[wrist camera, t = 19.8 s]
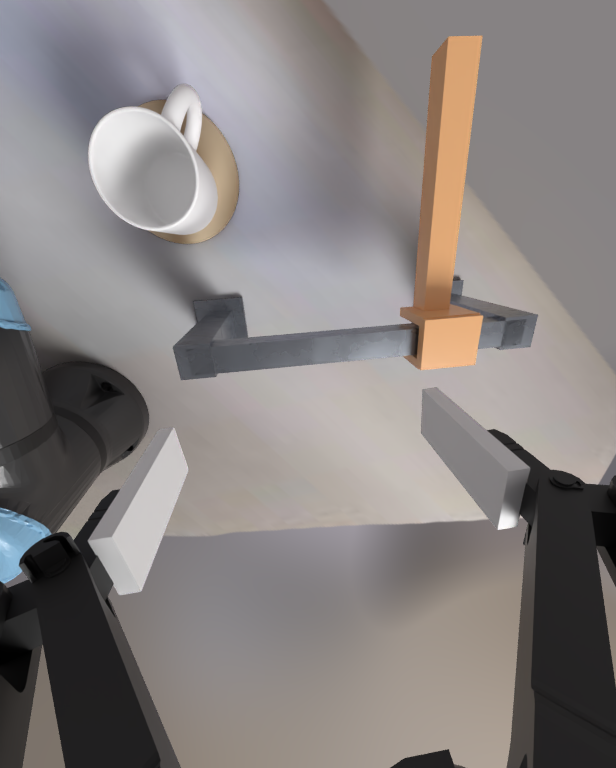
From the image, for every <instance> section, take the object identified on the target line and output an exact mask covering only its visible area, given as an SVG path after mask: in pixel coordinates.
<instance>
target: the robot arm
mask: <svg viewBox="0 0 616 768" xmlns="http://www.w3.org/2000/svg"><path fill="white" fill-rule="evenodd" d="M30 330H31V327H30V325H29V324H27V323H26V322H25V319H24V317H23V315H22V312H21V310H20V307H19V305H18V302H17V299H16V297H15V294H14V292H13V290H12V288H11V287H10V286H9V284H8V283H7V282H6V281H4V280H3V279H2V278H0V768H22V766H23V759H24V753H25V746H26V741H27V735H28V728H29V722H30V716H31V710H32V704H33V697H34V692H35V685H36V679H37V673H38V667H39V661H40V654H41V648H42V645H43V647H44V652H45V658H46V663H47V669H48V674H49V680H50V685H51V691H52V696H53V702H54V707H55V713H56V718H57V724H58V729H59V735H60V740H61V746H62V751H63V757H64V762H65V768H181V767H180V764H179V762H178V760H177V757H176V755H175V753H174V750H173V748H172V745H171V743H170V741H169V739H168V736H167V734H166V731H165V729H164V727H163V724H162V722H161V719H160V717H159V715H158V712H157V710H156V708H155V705H154V703H153V700H152V698H151V696H150V693H149V691H148V689H147V686H146V684H145V681H144V679H143V677H142V675H141V672H140V670H139V667H138V665H137V663H136V660H135V658H134V655H133V653H132V651H131V648H130V646H129V644H128V641H127V639H126V636H125V634H124V632H123V630H122V627H121V625H120V622H119V620H118V617H117V615H116V613H115V610H114V608H113V606H112V603H111V601H110V600H109V598H108V594H109V592H110V590H111V588H112V586H113V585H114V587H115V589H116V590H117V592H118V594H119V595H123V594H129V593H135V592H141V591H142V588H143V586H144V583H145V581H146V578H147V575H148V573H149V570H150V568H151V565H152V562H153V560H154V557H155V555H156V552H157V550H158V547H159V544H160V542H161V539H162V537H163V534H164V532H165V529H166V527H167V524H168V521H169V519H170V516H171V514H172V511H173V509H174V506H175V504H176V501H177V498H178V496H179V493H180V491H181V488H182V486H183V483H184V480H185V478H186V475H187V473H188V470H189V469H188V466H187V463H186V460H185V457H184V454H183V452H182V449H181V446H180V443H179V440H178V437H177V434H176V431H175V429H174V427H171V428H164V429H159V430H158V432H157V433H156V435H155V436H154V438H153V439H152V441H151V443H150V444H149V446H148V447H147V449H146V450H145V452H144V453H143V455H142V457H141V458H140V460H139V461H138V463H137V464H136V466H135V467H134V469H133V471H132V472H131V474H130V475H129V477H128V478H127V480H126V482H125V483H124V485H123V486H122V488H121V489H119V490H113V491H111V492H110V493H109V494H108V495H107V496H106V497H105V498H103V499H102V500H101V502H100V503H99V504H98V506H97V507H96V509H95V510H94V513H92V515H91V516H90V517H89V519H88V521H87V522H86V523H85V525H84V526H83V528H82V529H81V531H80V532H79V533H78V535H77V536H76V538H75V539H74V541H73V539H72V537H71V536H70V535H69V534H68V533H66V532H59V533H56V532H57V531H58V529H59V528H60V527H61V525H62V524H63V523H64V521H65V520H66V519H67V517H68V516H69V515H70V513H71V512H72V511H73V509H74V508H75V507H76V505H77V504H78V502H79V501H80V500H81V498H82V497H83V496H84V494H85V493H86V492H87V490H88V489H89V488H90V486H91V485H92V484H93V482H94V481H95V480H96V478H97V477H98V476H99V474H100V473H101V472H102V471H104V470H106V469H107V468H109V467H111V466H112V465H114V464H116V463H117V462H119V461H121V460H122V459H124V458H126V457H127V456H128V455H130V454H131V453H132V452H133V451H134V450H135V449H136V448H137V446H138V445H139V444H140V442H141V441H142V439H143V438H144V436H145V434H146V432H147V429H148V425H149V413H148V409H147V405H146V403H145V401H144V399H143V397H142V395H141V394H140V392H139V391H138V390H137V388H136V387H135V386H134V385H133V384H132V383H131V382H130V381H128V380H127V379H126V378H125V377H123V376H122V375H120V374H119V373H117V372H115V371H113V370H111V369H109V368H107V367H104V366H101V365H97V364H93V363H88V362H68V363H63V364H59V365H56V366H54V367H52V368H50V369H48V370H46V371H44V372H42V371H41V368H40V364H39V361H38V358H37V355H36V351H35V348H34V345H33V342H32V338H31V335H30V332H29V331H30ZM421 434H422V435H423V436H424V438H425V439H426V440H427V441H428V443H429V444H430V445H431V446H432V448H433V449H434V450H435V451H436V453H437V454H438V455H439V457H440V458H441V459H442V460H443V462H444V463H445V464H446V465H447V467H448V468H449V469H450V470H451V472H452V473H453V474H454V475H455V477H456V478H457V479H458V481H459V482H460V483H461V484H462V486H463V487H464V488H465V489H466V491H467V492H468V493H469V494H470V496H471V497H472V498H473V499H474V501H475V502H476V503H477V505H478V506H479V507H480V508H481V510H482V511H483V512H484V513H485V515H486V516H487V517H488V518H489V520H490V521H491V522H492V523H493V525H494V526H495V527H496V528H497V530H500V529H506V528H511V527H517V526H518V521H519V517H520V515H521V516H522V517H523V518H524V519H525V520H526V521H527V522H528V525H527V529H526V534H525V538H524V542H523V544H524V545H525V556H524V570H523V583H522V597H521V610H520V624H519V639H518V651H517V666H516V678H515V693H514V705H513V720H512V732H511V743H510V751H509V757H508V763H507V768H616V686H615V679H614V671H613V664H612V657H611V650H610V644H609V643H610V642H609V635H608V628H607V621H606V614H605V606H604V599H603V592H602V586H601V578H600V570H599V564H598V556H597V550H598V552H599V554H600V556H601V558H602V560H603V562H604V564H605V566H606V568H607V570H608V572H609V574H610V576H611V578H612V580H613V582H614V584H615V586H616V476H614V477H613V478H612V480H611V483H610V485H596V484H585V483H584V482H583V481H582V480H581V479H580V478H578V477H576V476H574V475H572V474H570V473H567V472H563V471H558V470H550V469H549V468H548V467H546V466H545V465H544V464H543V463H541V462H540V461H539V460H538V459H536V458H535V457H534V456H533V455H531V454H530V453H529V452H528V451H526V450H524V449H523V447H522V446H520V445H519V444H516V442H515V441H514V440H513V439H512V438H510V437H509V436H508V435H506V434H504V433H502V432H500V431H498V430H495V429H492V430H486V429H485V428H483V427H482V426H481V425H480V424H479V423H478V422H476V421H475V420H474V419H473V418H472V417H471V416H469V415H468V414H467V413H466V412H465V411H464V410H462V409H461V408H460V407H459V406H458V405H457V404H455V403H454V402H453V401H452V400H451V399H450V398H448V397H447V396H446V395H445V394H444V393H443V392H441V391H440V390H439V389H438V388H437V387H435V388H428V389H423V391H422V417H421ZM596 548H597V549H596ZM22 571H23V572H24V574H25V575H26V576H27V578H28V579H29V580H26V581H24V582H22V583H19V584H17V585H14V586H12V587H9V588H7V587H6V586H5V585H4V583H6V582H8V581H10V580H12V579H13V578H15V577H16V576H17V575H18V574H20V573H21V572H22ZM391 768H465V767H463V766H459V765H454V764H453V761H452V758H451V755H450V752H449V749H448V750H443V751H438V752H433V753H428V754H424V755H418V756H413V757H409V758H405V759H403V760H401V761H400V762H398V763H397V764H395V765H394V766H392V767H391Z"/></svg>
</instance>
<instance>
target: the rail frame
mask: <svg viewBox="0 0 616 768" xmlns="http://www.w3.org/2000/svg"><path fill="white" fill-rule="evenodd" d="M463 281H464V280H453V282H452V290H451V299H450V304H452V305H456V306H459V307H462V308H465V309H468V310H471V311H475V312H478V313H480V315H483V320H482V326H481V332H480V338H479V344H478V349H482V348H493V347H494V348H497V349H499V350H504V349H514V348H525V347H530V346H531V342H532V338H533V334H534V329H535V325H536V321H537V317H538V315H537V314H533V313H529V312H525V311H521V310H517V309H513V308H509V307H505V306H501V305H497V304H493V303H489V302H485V301H481V300H477V299H473V298H469V297H465V296H461V295H462V288H463ZM193 303H194V308H195V313H196V317H197V322H198V323H197V324H196V325H195V326H194V327H193V328H192V329H191V330H190V331H189V332H188V333H186V334H185V335H184V336H183V337H182V338H181V339H180V340H179V341H178V342H177V343H176V344H175V345H174V346H173V350H174V354H175V358H176V362H177V366H178V370H179V374H180V378H181V380H188V379H199V378H209V377H216V376H217V374H218V373H228V372H238V371H249V370H260V369H270V368H281V367H291V366H302V365H313V364H323V363H334V362H344V361H355V360H366V359H376V358H387V357H397V356H408V355H417V348H418V337H419V326H418V325H416V324H414V323H411V324H399V325H388V326H376V327H365V328H353V329H342V330H331V331H319V332H308V333H296V334H285V335H273V336H262V337H250V338H248V333H247V326H246V319H245V312H244V305H243V299H242V297H237V298H224V299H212V300H199V301H193Z"/></svg>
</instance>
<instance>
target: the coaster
mask: <svg viewBox="0 0 616 768" xmlns="http://www.w3.org/2000/svg"><path fill="white" fill-rule="evenodd" d="M166 101H167V100H154V101H150V102H147V103H144V104H142V105H140V106H138V107H142V108H146V109H149V110H152V111H154V112H156V113H158V114H160V115H161V113H162V110H163V108H164V105H165V103H166ZM186 120H187V112H186V114H185V117H184V120H183V123H182V126H181V130H180V132H181V133H182V135H184V131H185V127H186ZM196 152H197V153H198V154H199V156H200V157H201V158H202V160H203V161H204V162H205V164H206V165H207V166H208V168H209V170H210V171H211V173H212V175H213V178H214V180H215V183H216V187H217V194H218V202H217V209H216V212H215V215H214V217H213V219H212V220H211V222H210V223H209V224H208V225H207V226H206V227H205V228H204V229H202V230H201V231H199V232H196V233H193V234H188V235H178V234H171V233H164V232H157V231H150V230H148V231H150V232H151V233H153V234H154V235H156V236H158V237H160V238H162V239H165V240H167V241H171V242H174V243H181V244H193V243H200V242H203V241H206V240H208V239H210V238H212V237H214V236H215V235H217V234H218V233H219V232H220V231H222V230H223V229H224V227H225V226H226V225H227V224H228V222H229V221H230V219H231V217H232V215H233V213H234V211H235V208H236V205H237V201H238V195H239V176H238V170H237V165H236V162H235V159H234V156H233V154H232V151H231V149H230V146H229V145H228V143H227V141H226V139H225V137H224V136H223V135H222V133H221V132H220V130H219V129H218V128H217V127H216V126H215V125H214V123H213V122H212V121H211V120H210V119H208V118H207V117H206V116H205V115H204V114H202V126H201V133H200V139H199V143H198V147H197V150H196Z"/></svg>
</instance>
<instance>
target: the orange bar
mask: <svg viewBox="0 0 616 768" xmlns="http://www.w3.org/2000/svg"><path fill="white" fill-rule="evenodd" d="M481 44H482V36H452V37H448V38H447V39H446V40H445V42H444V43H443V44H442V45H441V46H440V48H439V49H438V50H437V51H436V52H435V54H434V55H433V56H432V63H431V77H430V90H429V105H428V118H427V130H426V144H425V157H424V170H423V184H422V197H421V210H420V224H419V237H418V251H417V264H416V277H415V291H414V304H413V307H402V308H400V316H401V317H403V318H405V319H407V320H409V321H411V322H413V323H414V324H416V325H418V326H419V337H418V348H417V355H408V356H403V357H404V358H405V359H407V360H408V361H409V362H410V363H411V364H413V365H414V366H415V367H416V368H417V369H420V370H428V369H438V368H448V367H458V366H469V365H475V362H476V356H477V350H478V344H479V338H480V332H481V326H482V320H483V315H480V313H478V312H475V311H471V310H468V309H465V308H462V307H459V306H456V305H452V304H450V299H451V290H452V282H453V274H454V266H455V258H456V249H457V241H458V233H459V225H460V217H461V208H462V200H463V192H464V184H465V175H466V167H467V159H468V150H469V143H470V133H471V126H472V117H473V110H474V101H475V93H476V85H477V76H478V68H479V60H480V52H481Z"/></svg>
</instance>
